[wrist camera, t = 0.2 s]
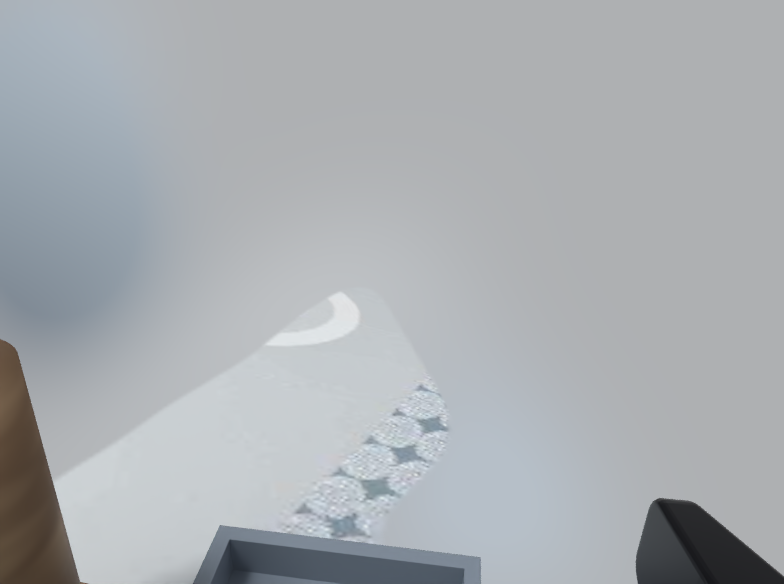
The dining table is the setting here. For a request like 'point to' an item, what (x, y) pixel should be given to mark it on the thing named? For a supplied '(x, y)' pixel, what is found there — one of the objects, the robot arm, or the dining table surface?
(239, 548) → the box
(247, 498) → the dining table surface
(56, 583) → the walnut handle
